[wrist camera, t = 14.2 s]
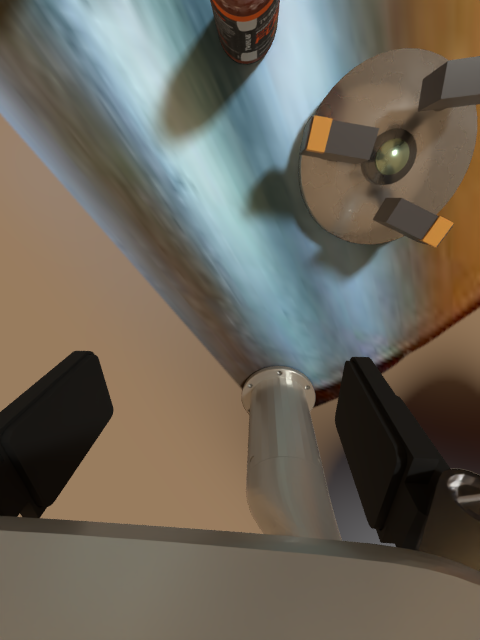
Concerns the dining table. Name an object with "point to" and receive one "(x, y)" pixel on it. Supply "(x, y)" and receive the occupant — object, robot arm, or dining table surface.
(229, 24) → the supplement bottle
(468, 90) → the grey and orange block
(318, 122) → the orange-tipped grey bar
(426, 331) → the dining table surface
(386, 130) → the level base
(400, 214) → the grey chuck jaw
